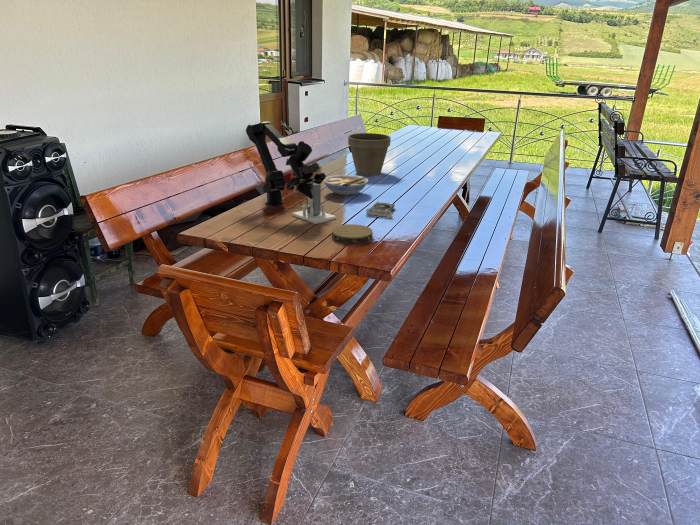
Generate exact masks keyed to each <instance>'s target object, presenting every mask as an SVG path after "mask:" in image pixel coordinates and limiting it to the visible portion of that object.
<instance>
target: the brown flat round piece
mask: <svg viewBox="0 0 700 525" xmlns="http://www.w3.org/2000/svg"><path fill="white" fill-rule="evenodd" d="M331 238H333V239H334V240H333V239H332V240H333V241H335V242H337V243H340V242H341V243H340V244H344V243H346V245H360V244H359V243H361V244H365V242H366V243H368V242H370V241H372V239H373V228H371V227H369V226H366V225H363V224H354V223H352V224H351V223H350V224H340V225H338V226H335V227H333V228H332V229H331Z"/></svg>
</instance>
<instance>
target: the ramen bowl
mask: <svg viewBox="0 0 700 525" xmlns="http://www.w3.org/2000/svg"><path fill="white" fill-rule="evenodd" d="M369 177H370V176H367V175H366V176H362V175H354V174H335V175H329V176H326V178H325V179H324V180H323V183H324V185H325V186H326V188H327V189H328V191H329V190H330V191H331V192H333V193H335V194H337V195H339V196H343V195H344V196H347V197H348V196H352V195H354V194H357V193H359V192H361V191H363V190H364V188H365V187H366V185H367V184H368V182H369V179H368V178H369Z"/></svg>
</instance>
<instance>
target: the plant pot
mask: <svg viewBox="0 0 700 525" xmlns="http://www.w3.org/2000/svg"><path fill="white" fill-rule="evenodd" d="M347 139H348V140H347V141H348V142H347V144H348V146H349V148H350V153H351V156H352V160H353V165H354V168H355V172H356V174H357V173H358V174H357V175H360V174H361V175H360V176H367V175H372V176H377V175H380V174H381V172H382V170H383V167H384V163H385V160H386V157H387V156H386V155H387V153H388V149H389V147H390V146H391V140H392V139H391V136H390V135H388V134H383V133H377V132H373V133H372V132H359V133H357V132H356V133H352V134H349V135H348V137H347Z"/></svg>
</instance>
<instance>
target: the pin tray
mask: <svg viewBox="0 0 700 525" xmlns="http://www.w3.org/2000/svg"><path fill="white" fill-rule="evenodd" d="M292 216H293V217H296V218H298V219H301V220H304V221H306V220H307V222H309V223H312V224H315V225H317V224H318V225H319V224H322V223H326V222H328V221H332V220H335V219H336V215H333V214H330V213H327V212H326V206H325V204H322V205H321V214H319V215H315V216H314V215H313V208H310V214H308V213H307V205H302V210H300V211H295V212H292Z"/></svg>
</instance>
